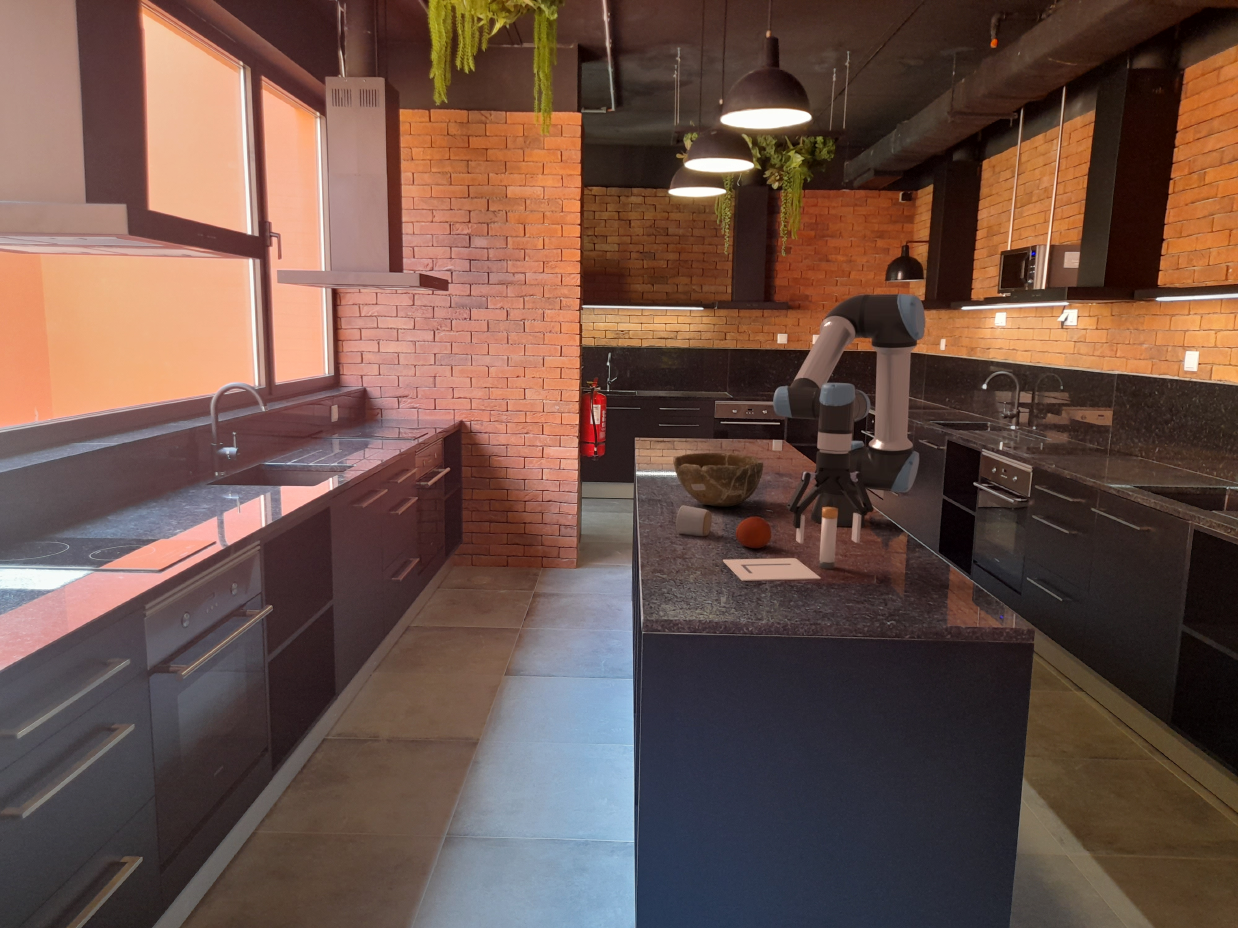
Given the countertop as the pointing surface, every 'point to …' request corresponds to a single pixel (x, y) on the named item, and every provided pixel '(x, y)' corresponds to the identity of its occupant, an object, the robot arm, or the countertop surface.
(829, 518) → the marker
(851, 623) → the countertop surface
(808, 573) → the paper
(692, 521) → the ceramic mug
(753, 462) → the bowl
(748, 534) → the fruit
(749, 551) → the countertop surface
